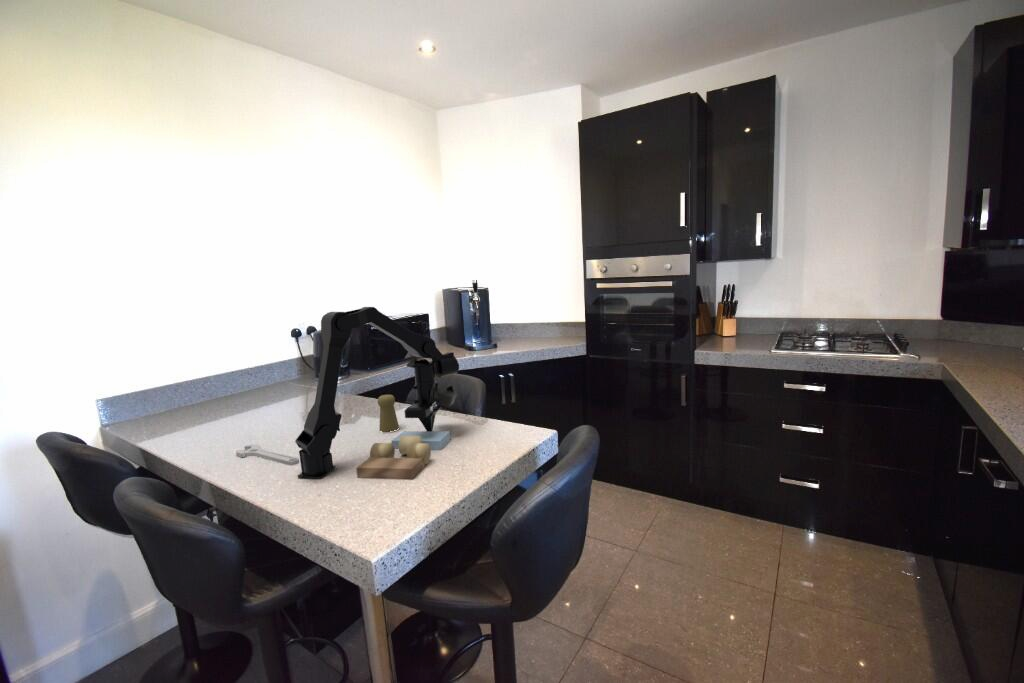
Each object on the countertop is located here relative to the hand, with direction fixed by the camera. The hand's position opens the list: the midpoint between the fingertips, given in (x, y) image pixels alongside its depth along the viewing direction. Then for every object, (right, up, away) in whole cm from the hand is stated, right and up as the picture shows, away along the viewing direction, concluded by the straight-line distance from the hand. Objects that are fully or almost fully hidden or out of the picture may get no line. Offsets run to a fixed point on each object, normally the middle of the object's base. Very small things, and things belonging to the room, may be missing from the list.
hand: (430, 432), depth 133 cm
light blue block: (-2, -2, -9) cm, 9 cm away
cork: (-14, -1, +9) cm, 17 cm away
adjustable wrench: (-44, -6, -8) cm, 45 cm away
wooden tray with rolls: (-4, -4, -22) cm, 23 cm away
